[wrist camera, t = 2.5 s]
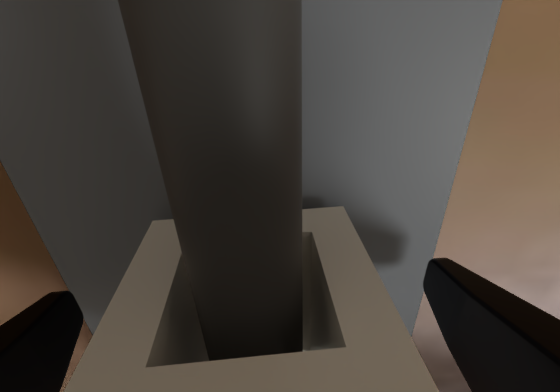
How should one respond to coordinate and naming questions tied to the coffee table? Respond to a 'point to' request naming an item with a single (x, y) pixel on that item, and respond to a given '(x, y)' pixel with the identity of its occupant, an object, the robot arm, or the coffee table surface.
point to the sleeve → (259, 369)
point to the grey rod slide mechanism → (238, 141)
